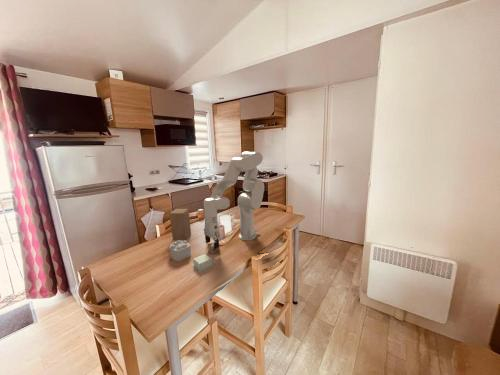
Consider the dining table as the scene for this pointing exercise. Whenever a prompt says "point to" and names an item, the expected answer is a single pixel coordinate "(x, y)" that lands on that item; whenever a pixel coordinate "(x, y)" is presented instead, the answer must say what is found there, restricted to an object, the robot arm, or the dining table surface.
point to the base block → (202, 262)
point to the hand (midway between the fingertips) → (212, 245)
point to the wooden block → (180, 224)
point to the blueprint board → (203, 269)
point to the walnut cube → (212, 248)
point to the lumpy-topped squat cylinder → (180, 250)
